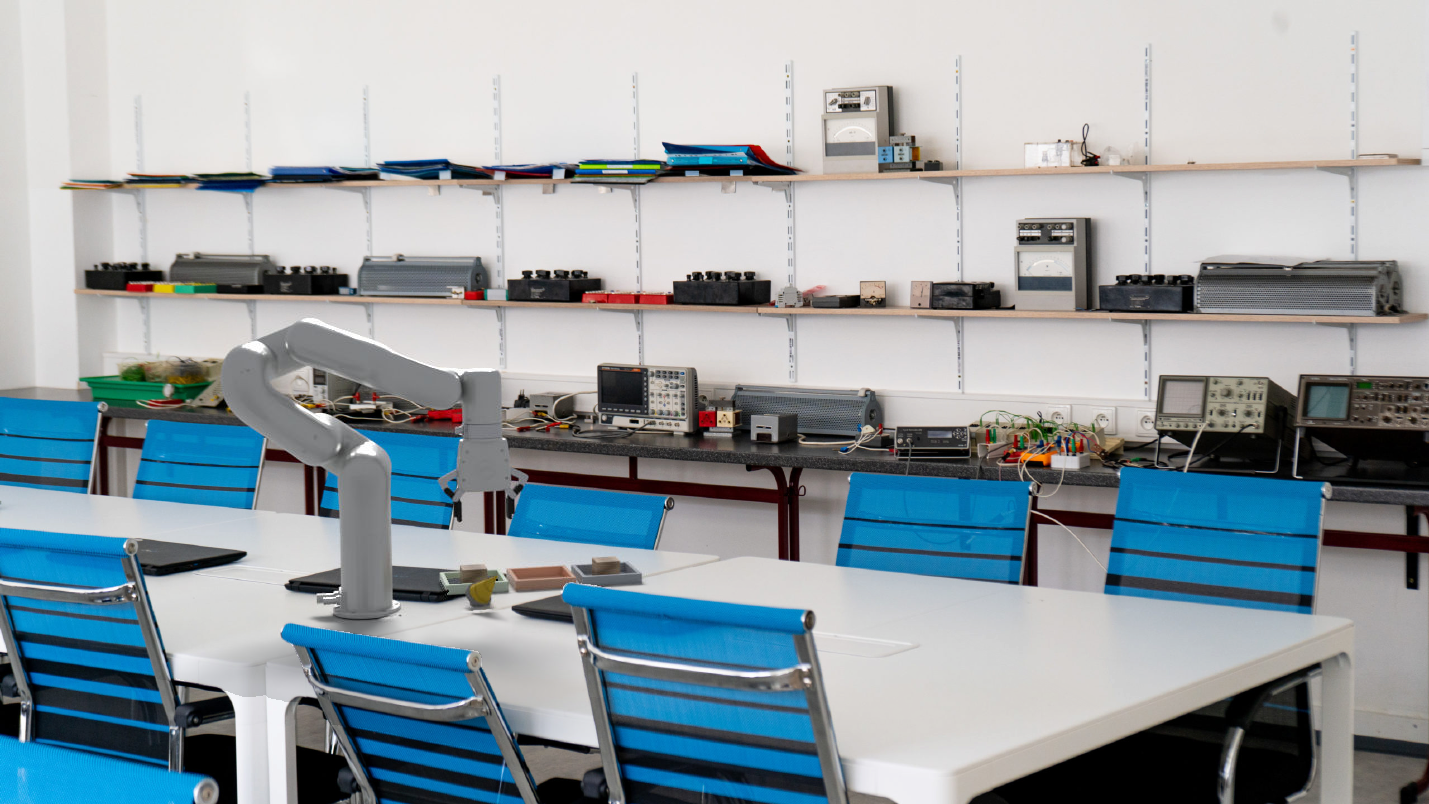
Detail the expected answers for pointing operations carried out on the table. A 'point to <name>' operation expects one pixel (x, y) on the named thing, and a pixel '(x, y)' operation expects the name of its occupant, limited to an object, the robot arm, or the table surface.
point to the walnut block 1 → (473, 573)
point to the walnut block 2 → (605, 566)
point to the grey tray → (626, 575)
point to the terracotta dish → (539, 577)
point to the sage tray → (461, 588)
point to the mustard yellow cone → (480, 592)
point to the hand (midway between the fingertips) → (484, 519)
